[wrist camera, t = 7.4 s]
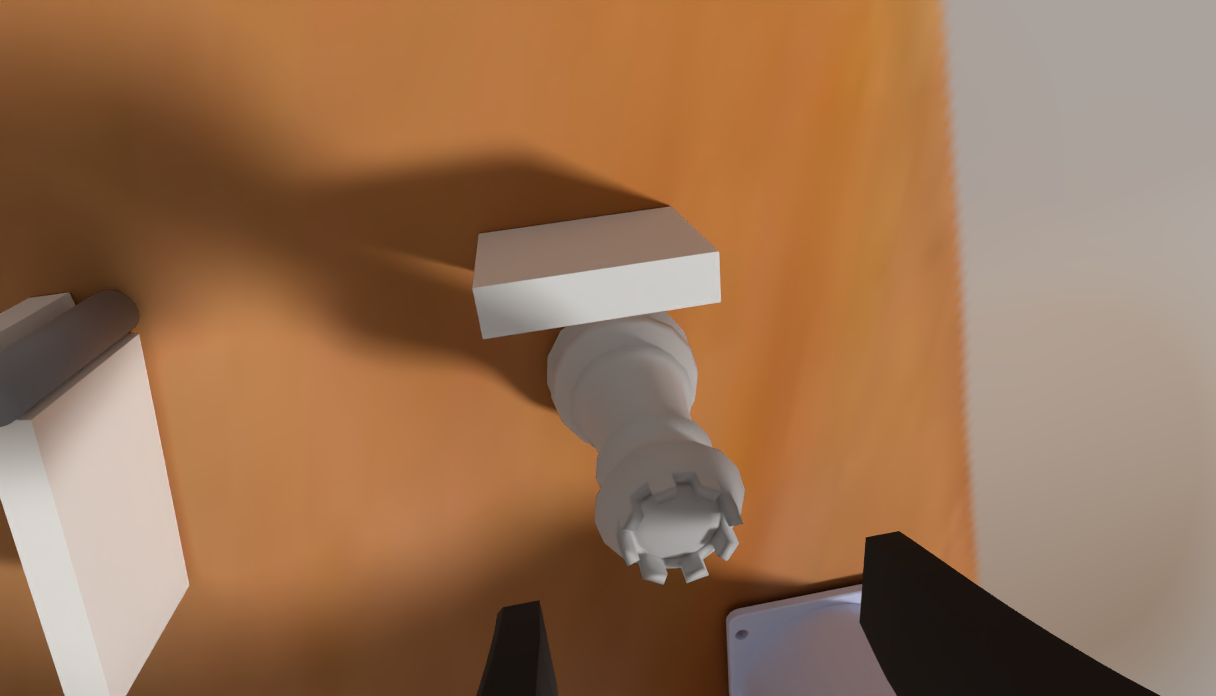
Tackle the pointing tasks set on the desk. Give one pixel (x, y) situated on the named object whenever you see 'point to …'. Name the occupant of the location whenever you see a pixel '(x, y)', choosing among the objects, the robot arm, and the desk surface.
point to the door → (90, 493)
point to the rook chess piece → (646, 443)
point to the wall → (545, 275)
